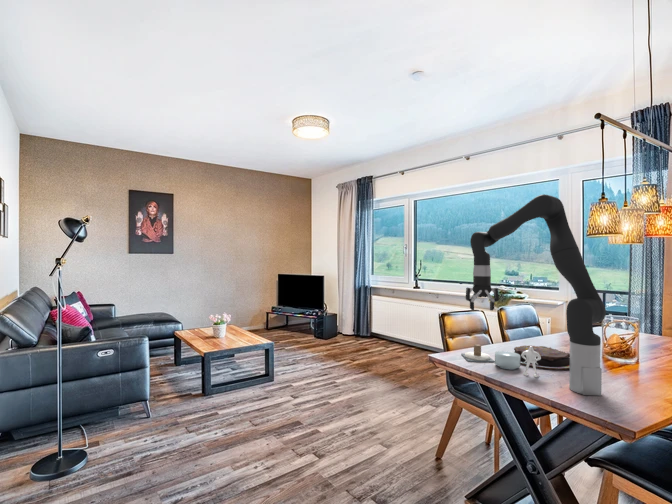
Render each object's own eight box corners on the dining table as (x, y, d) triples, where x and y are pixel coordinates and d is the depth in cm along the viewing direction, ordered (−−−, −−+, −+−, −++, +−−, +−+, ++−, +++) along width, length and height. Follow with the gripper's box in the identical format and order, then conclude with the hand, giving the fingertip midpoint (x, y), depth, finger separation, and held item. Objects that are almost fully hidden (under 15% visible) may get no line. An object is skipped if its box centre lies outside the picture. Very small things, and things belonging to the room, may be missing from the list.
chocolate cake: (525, 350, 189) (525, 337, 189) (588, 363, 167) (588, 349, 167) (495, 359, 173) (495, 345, 173) (559, 376, 150) (560, 359, 150)
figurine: (541, 375, 149) (541, 346, 149) (540, 379, 145) (540, 348, 145) (521, 372, 152) (521, 343, 152) (520, 375, 149) (520, 345, 149)
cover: (493, 360, 167) (493, 348, 167) (468, 360, 168) (468, 348, 168) (485, 354, 178) (485, 342, 178) (462, 353, 179) (462, 342, 179)
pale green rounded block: (524, 371, 155) (524, 357, 155) (499, 370, 156) (499, 357, 156) (514, 363, 165) (514, 351, 165) (491, 363, 166) (491, 350, 166)
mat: (494, 362, 167) (494, 361, 167) (468, 361, 167) (468, 360, 167) (486, 355, 178) (486, 354, 178) (461, 354, 179) (461, 353, 179)
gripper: (468, 275, 169) (468, 311, 168) (500, 275, 168) (500, 311, 168) (463, 274, 176) (464, 308, 176) (494, 274, 175) (494, 309, 175)
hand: (482, 310), depth 172 cm, fingers open, 8 cm apart
